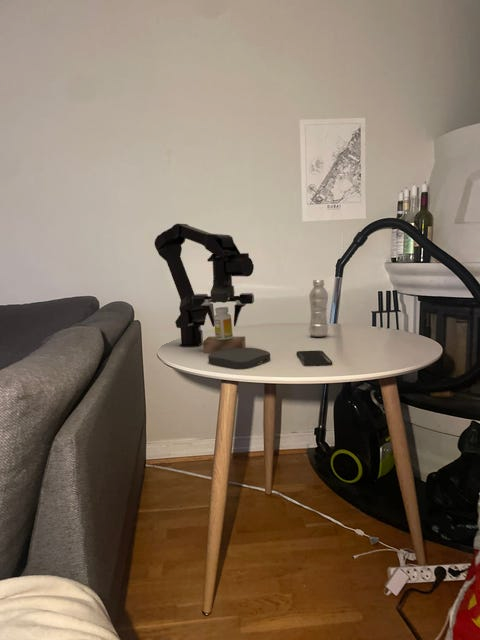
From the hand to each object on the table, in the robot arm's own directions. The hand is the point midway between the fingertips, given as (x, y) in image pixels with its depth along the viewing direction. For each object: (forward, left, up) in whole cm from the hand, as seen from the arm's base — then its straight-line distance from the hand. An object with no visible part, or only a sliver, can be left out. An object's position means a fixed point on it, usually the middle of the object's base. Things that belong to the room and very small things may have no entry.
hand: (224, 326), depth 134 cm
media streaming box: (+7, -14, -8) cm, 17 cm away
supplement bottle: (0, 0, -4) cm, 4 cm away
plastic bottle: (+30, +21, -8) cm, 38 cm away
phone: (+27, -12, -8) cm, 30 cm away
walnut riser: (0, 0, -8) cm, 8 cm away
